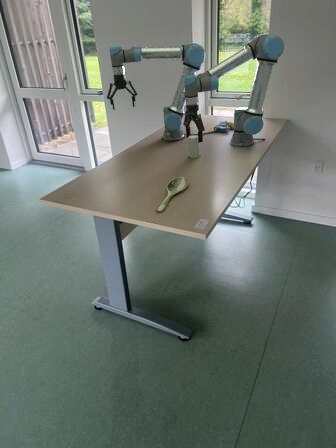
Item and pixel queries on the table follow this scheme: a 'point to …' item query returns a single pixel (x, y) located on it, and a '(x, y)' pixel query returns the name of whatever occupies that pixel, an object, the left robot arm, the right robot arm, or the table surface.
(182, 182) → the spoon
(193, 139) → the canister
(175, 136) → the left robot arm
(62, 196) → the table surface
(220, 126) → the spray gun
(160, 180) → the table surface
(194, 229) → the table surface
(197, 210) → the table surface
